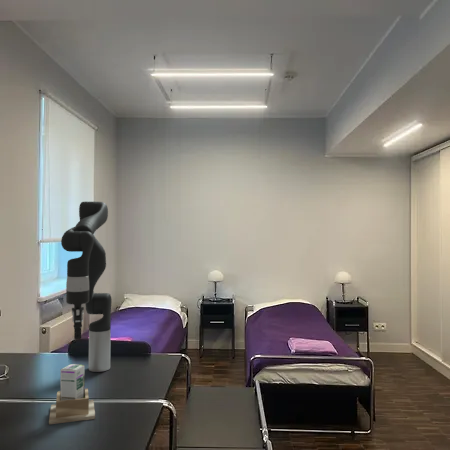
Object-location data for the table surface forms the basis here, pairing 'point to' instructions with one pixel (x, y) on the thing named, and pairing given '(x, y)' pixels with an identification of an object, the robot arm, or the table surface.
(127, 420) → the table surface
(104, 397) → the table surface
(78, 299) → the robot arm
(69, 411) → the wooden square holder
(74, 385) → the syrup box
